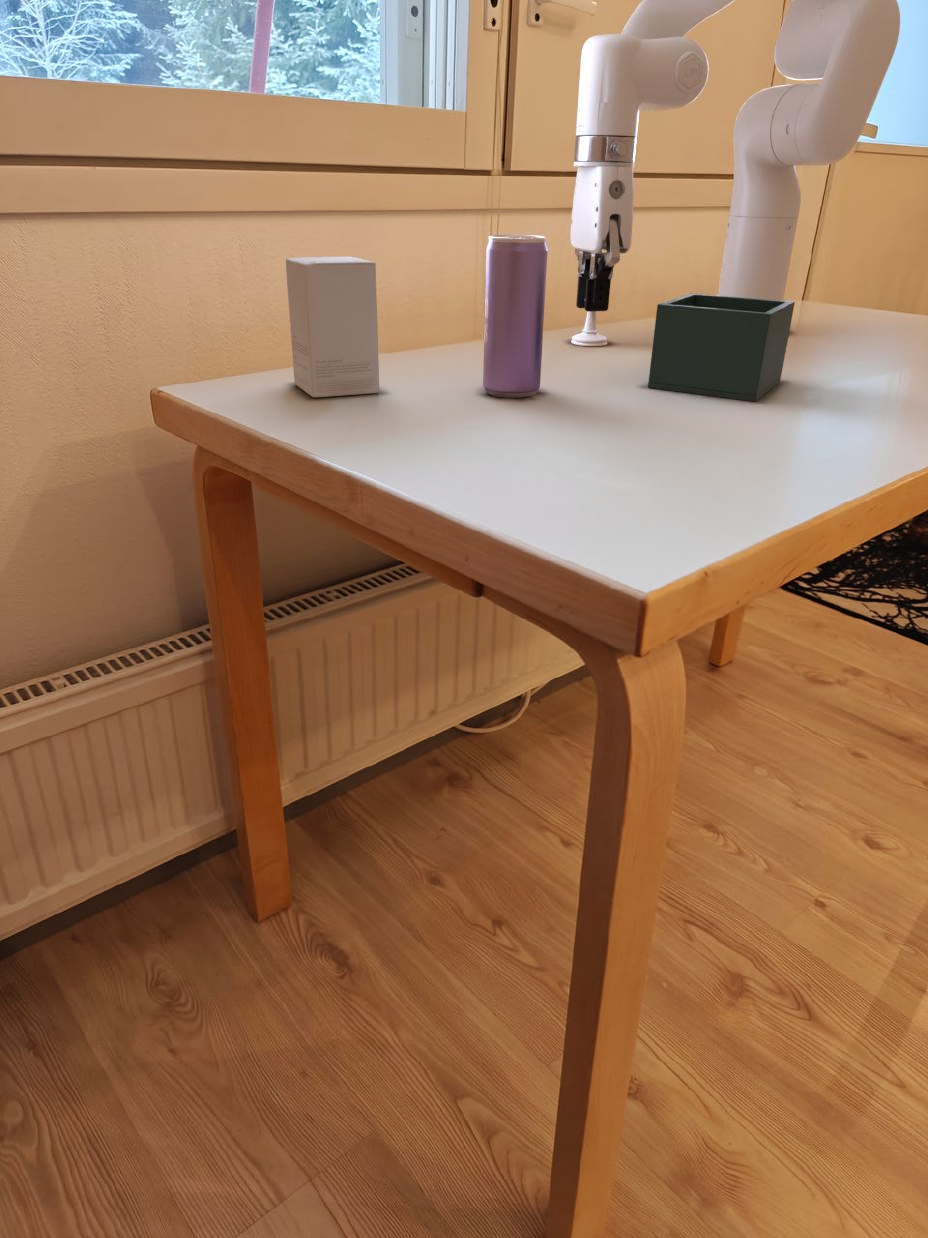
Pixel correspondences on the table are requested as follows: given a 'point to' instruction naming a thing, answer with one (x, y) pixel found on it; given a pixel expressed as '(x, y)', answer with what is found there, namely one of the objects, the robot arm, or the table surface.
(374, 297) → the white packaging box
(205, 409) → the table surface
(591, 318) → the chess piece
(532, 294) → the beverage can
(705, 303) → the bin
